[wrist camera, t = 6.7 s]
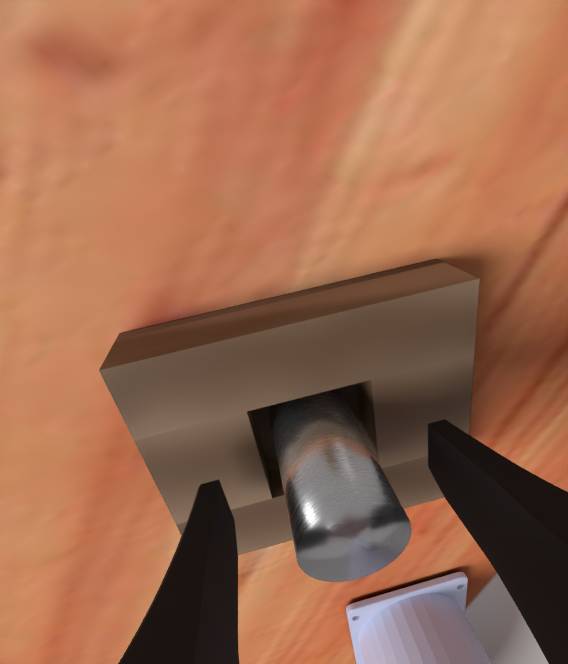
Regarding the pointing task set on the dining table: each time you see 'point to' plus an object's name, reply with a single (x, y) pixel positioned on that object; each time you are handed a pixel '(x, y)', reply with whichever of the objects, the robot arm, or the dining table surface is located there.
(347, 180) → the dining table surface
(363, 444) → the pin
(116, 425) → the dining table surface
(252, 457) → the bore block
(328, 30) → the dining table surface
